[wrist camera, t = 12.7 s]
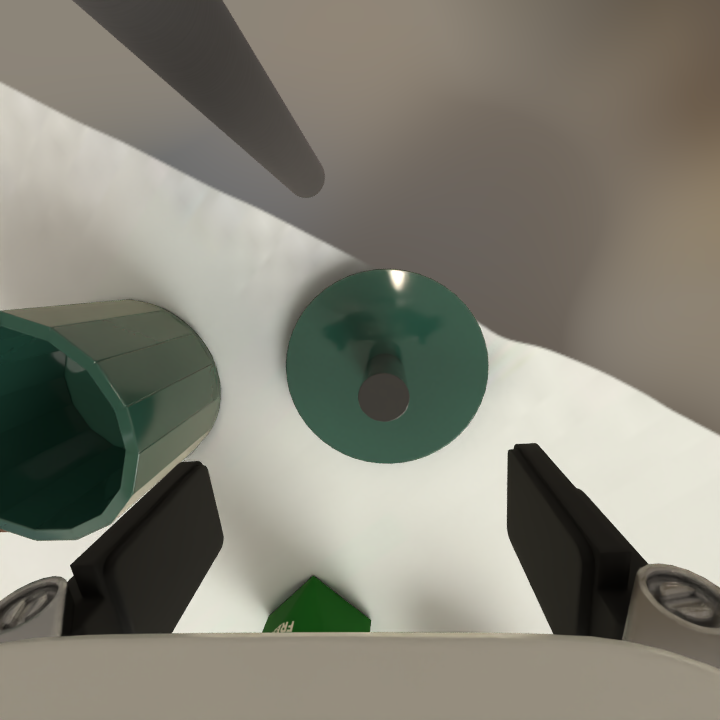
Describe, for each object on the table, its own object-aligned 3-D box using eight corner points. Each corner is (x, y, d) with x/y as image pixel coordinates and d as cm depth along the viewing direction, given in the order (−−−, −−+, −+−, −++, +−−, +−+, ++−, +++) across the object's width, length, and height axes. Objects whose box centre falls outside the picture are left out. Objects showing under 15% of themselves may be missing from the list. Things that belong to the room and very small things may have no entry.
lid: (277, 279, 25) (240, 280, 19) (483, 259, 23) (517, 253, 17) (303, 459, 28) (279, 510, 22) (484, 452, 27) (513, 504, 21)
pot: (40, 307, 27) (-139, 323, 18) (202, 292, 26) (98, 301, 16) (88, 461, 30) (-44, 542, 21) (234, 455, 29) (162, 539, 20)
